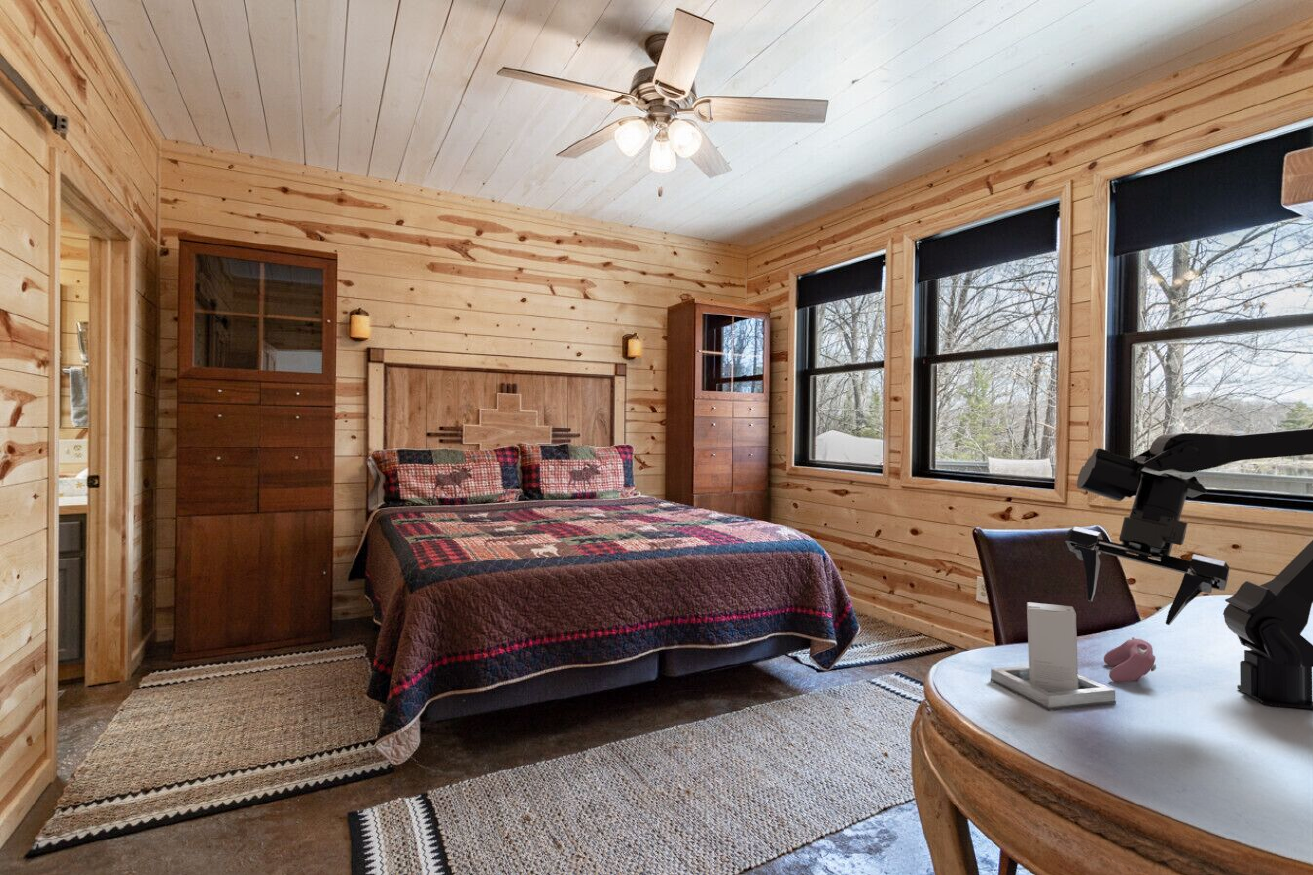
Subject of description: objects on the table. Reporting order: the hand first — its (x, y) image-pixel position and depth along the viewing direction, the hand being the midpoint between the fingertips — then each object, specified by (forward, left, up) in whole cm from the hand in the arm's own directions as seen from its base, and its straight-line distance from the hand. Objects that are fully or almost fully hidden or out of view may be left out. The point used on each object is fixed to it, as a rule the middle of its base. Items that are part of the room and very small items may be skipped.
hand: (1127, 612), depth 91 cm
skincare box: (+10, +1, -12) cm, 16 cm away
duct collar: (+10, +1, -12) cm, 16 cm away
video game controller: (-4, -9, -12) cm, 16 cm away
